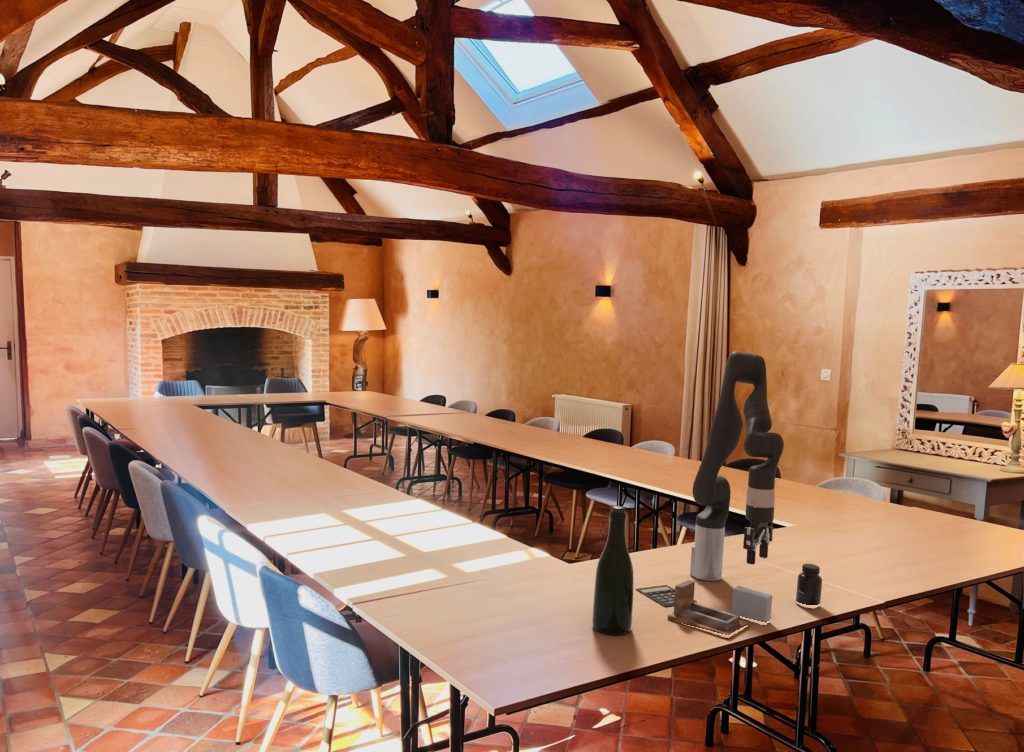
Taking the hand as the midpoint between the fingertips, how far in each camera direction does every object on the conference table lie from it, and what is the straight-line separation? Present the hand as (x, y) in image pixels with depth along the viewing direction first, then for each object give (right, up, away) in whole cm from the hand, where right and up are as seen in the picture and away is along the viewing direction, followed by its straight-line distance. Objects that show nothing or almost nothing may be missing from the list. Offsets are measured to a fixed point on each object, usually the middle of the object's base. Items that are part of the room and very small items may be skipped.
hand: (757, 560), depth 216 cm
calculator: (-22, -15, +17) cm, 32 cm away
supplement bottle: (+20, -17, +14) cm, 29 cm away
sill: (-15, -16, -3) cm, 22 cm away
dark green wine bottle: (-42, -16, -10) cm, 46 cm away
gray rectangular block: (-2, -17, +1) cm, 17 cm away
